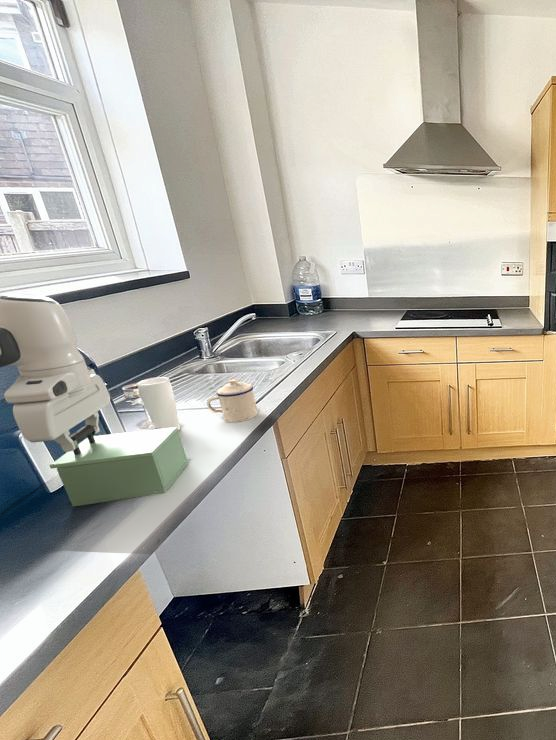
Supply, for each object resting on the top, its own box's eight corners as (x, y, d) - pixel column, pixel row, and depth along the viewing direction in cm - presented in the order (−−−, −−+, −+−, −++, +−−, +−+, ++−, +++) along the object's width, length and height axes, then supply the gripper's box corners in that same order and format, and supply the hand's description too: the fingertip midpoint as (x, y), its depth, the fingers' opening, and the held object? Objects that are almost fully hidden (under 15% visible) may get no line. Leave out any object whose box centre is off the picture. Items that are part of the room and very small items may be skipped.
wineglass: (151, 430, 116) (138, 390, 112) (128, 429, 116) (114, 389, 112) (171, 419, 122) (159, 381, 118) (149, 419, 123) (137, 381, 119)
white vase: (152, 431, 115) (135, 380, 110) (182, 424, 120) (167, 375, 114) (154, 439, 111) (136, 387, 105) (185, 431, 115) (170, 381, 110)
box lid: (50, 468, 80) (41, 446, 78) (90, 439, 91) (82, 420, 90) (152, 455, 85) (145, 434, 83) (178, 430, 96) (172, 411, 94)
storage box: (72, 506, 83) (56, 468, 80) (108, 474, 94) (94, 439, 92) (165, 492, 88) (152, 456, 85) (188, 463, 99) (178, 430, 96)
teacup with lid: (259, 408, 130) (251, 373, 126) (258, 419, 123) (250, 382, 119) (213, 416, 125) (203, 379, 121) (209, 427, 117) (199, 389, 113)
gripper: (71, 365, 89) (93, 423, 94) (-5, 398, 71) (26, 468, 76) (108, 362, 91) (127, 419, 96) (42, 394, 73) (70, 463, 77)
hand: (82, 441), depth 85 cm, fingers closed on box lid, 6 cm apart
